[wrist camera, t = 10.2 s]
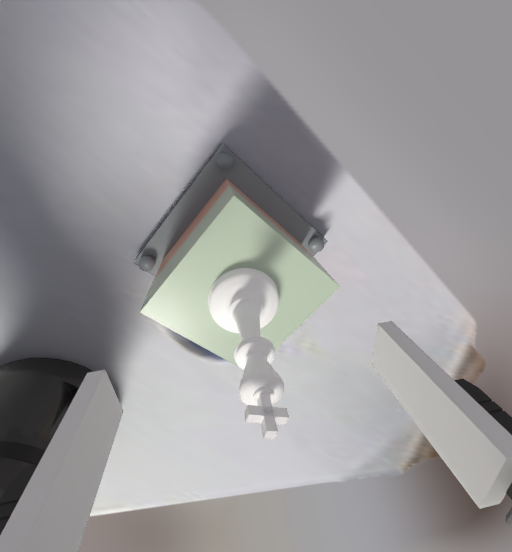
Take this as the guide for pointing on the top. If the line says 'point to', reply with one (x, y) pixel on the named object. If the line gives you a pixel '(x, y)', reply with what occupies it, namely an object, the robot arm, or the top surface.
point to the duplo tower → (232, 255)
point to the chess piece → (251, 341)
